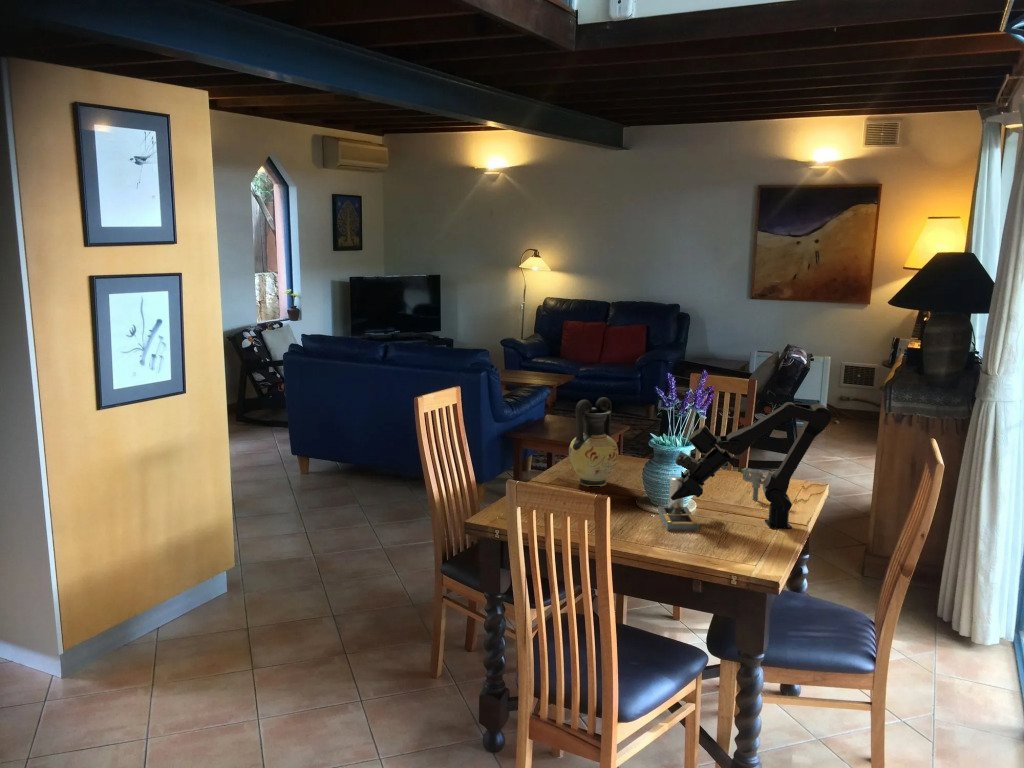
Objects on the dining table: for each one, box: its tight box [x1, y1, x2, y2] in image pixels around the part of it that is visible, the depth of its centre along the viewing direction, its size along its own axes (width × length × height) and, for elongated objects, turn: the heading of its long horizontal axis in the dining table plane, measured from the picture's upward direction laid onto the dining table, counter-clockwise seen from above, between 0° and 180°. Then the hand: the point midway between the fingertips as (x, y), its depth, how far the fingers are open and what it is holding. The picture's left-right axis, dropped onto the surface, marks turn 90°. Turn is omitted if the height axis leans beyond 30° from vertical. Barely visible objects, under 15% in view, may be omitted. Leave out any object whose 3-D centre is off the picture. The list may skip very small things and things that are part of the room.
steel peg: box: [667, 475, 684, 514], centre depth 257 cm, size 4×4×12 cm
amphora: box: [568, 396, 619, 487], centre depth 289 cm, size 18×17×30 cm
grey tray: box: [657, 505, 699, 532], centre depth 254 cm, size 16×9×2 cm, turn 0°
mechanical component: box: [740, 467, 768, 501], centre depth 275 cm, size 3×10×10 cm, turn 53°
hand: (671, 496), depth 257 cm, fingers closed on steel peg, 4 cm apart
